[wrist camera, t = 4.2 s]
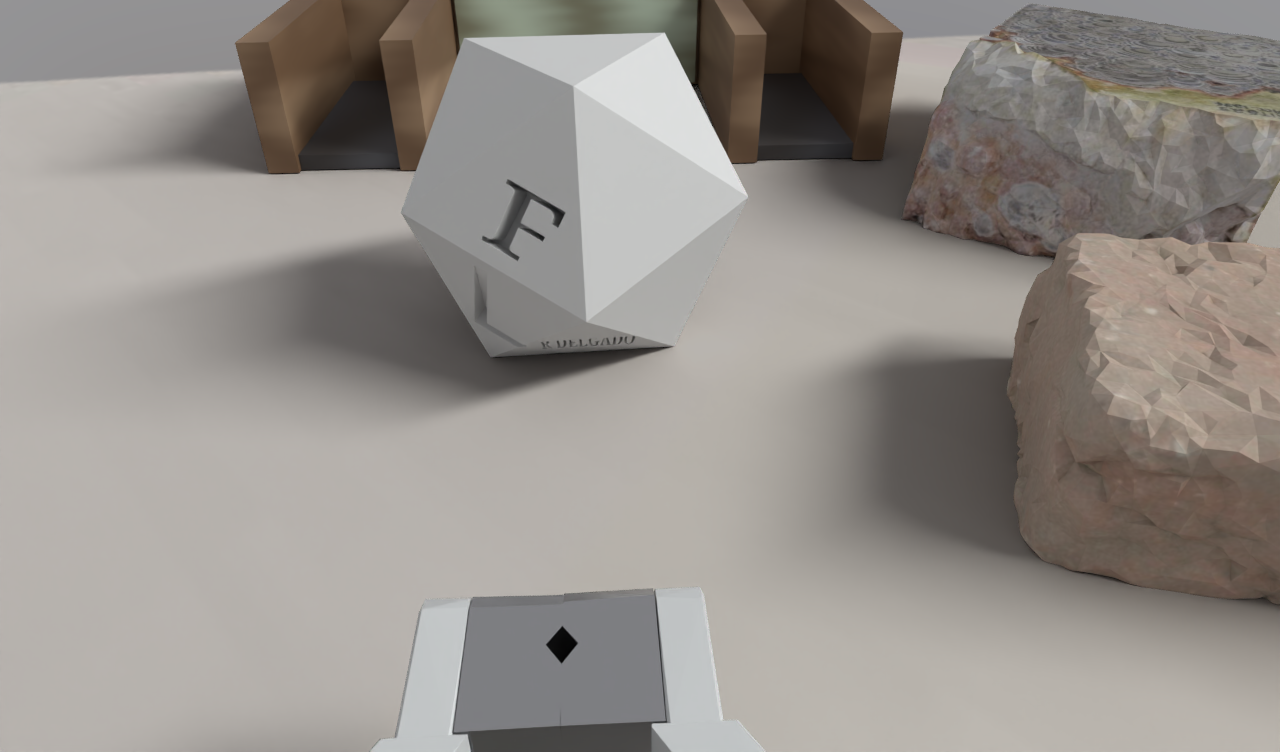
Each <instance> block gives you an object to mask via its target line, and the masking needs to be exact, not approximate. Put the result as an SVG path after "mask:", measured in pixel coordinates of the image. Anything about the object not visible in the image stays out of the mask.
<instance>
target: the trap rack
mask: <svg viewBox="0 0 1280 752" xmlns="http://www.w3.org/2000/svg"><path fill="white" fill-rule="evenodd" d="M632 33H665V34H666V36H667V38H668V40H669V42H670V44H671V46H672V48H673V50H674V52H675V54H676V56H677V58H678V60H679V62H680V64H681V66H682V68H683V70H684V72H685V73H686V75H687V77H688V79H689V81H690V83H691V84H698V86H699V89H700V91H701V94H702V97H703V99H704V102H705V105H706V107H707V110H708V112H709V115H710V118H711V120H712V123H713V126H714V128H715V131H716V134H717V136H718V138H719V140H720V142H721V144H722V146H723V148H724V150H725V152H726V154H727V156H728V158H729V160H730V162H731V163H754V162H757V160H767V159H812V158H852V159H853V160H882V158H883V152H884V146H885V139H886V133H887V127H888V121H889V115H890V109H891V103H892V97H893V91H894V85H895V79H896V73H897V67H898V61H899V54H900V48H901V42H902V36H903V32H902V31H901V30H900V29H898V28H897V27H896V26H894V25H893V24H892V23H891V22H890V21H888V20H887V19H886V18H885V17H883V16H882V15H881V14H880V13H878V12H877V11H876V10H875V9H873V8H872V7H871V6H870V5H868V4H867V3H866V2H865V1H863V0H290V1H288V2H287V3H286V4H285V5H283V6H282V7H281V8H279V9H278V10H277V11H276V12H274V13H273V14H272V15H270V16H269V17H268V18H266V19H265V20H264V21H262V22H261V23H260V24H259V25H257V26H256V27H255V28H253V29H252V30H251V31H250V32H249V33H247V34H246V35H244V36H243V37H242V38H241V39H239V40H238V41H237V42H236V43H235V44H236V48H237V52H238V56H239V60H240V64H241V68H242V72H243V75H244V79H245V83H246V87H247V91H248V95H249V99H250V102H251V106H252V110H253V114H254V118H255V122H256V126H257V129H258V133H259V137H260V141H261V145H262V149H263V153H264V157H265V160H266V164H267V168H268V172H269V173H300V171H301V170H319V169H364V168H400V169H401V170H416V169H417V167H418V164H419V161H420V158H421V156H422V153H423V150H424V147H425V145H426V142H427V139H428V136H429V133H430V131H431V128H432V125H433V122H434V120H435V117H436V114H437V111H438V109H439V106H440V103H441V100H442V98H443V95H444V92H445V89H446V86H447V84H448V81H449V78H450V75H451V73H452V70H453V67H454V64H455V62H456V59H457V56H458V53H459V51H460V48H461V45H462V42H463V39H464V38H485V37H522V36H559V35H595V34H632Z"/></svg>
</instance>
